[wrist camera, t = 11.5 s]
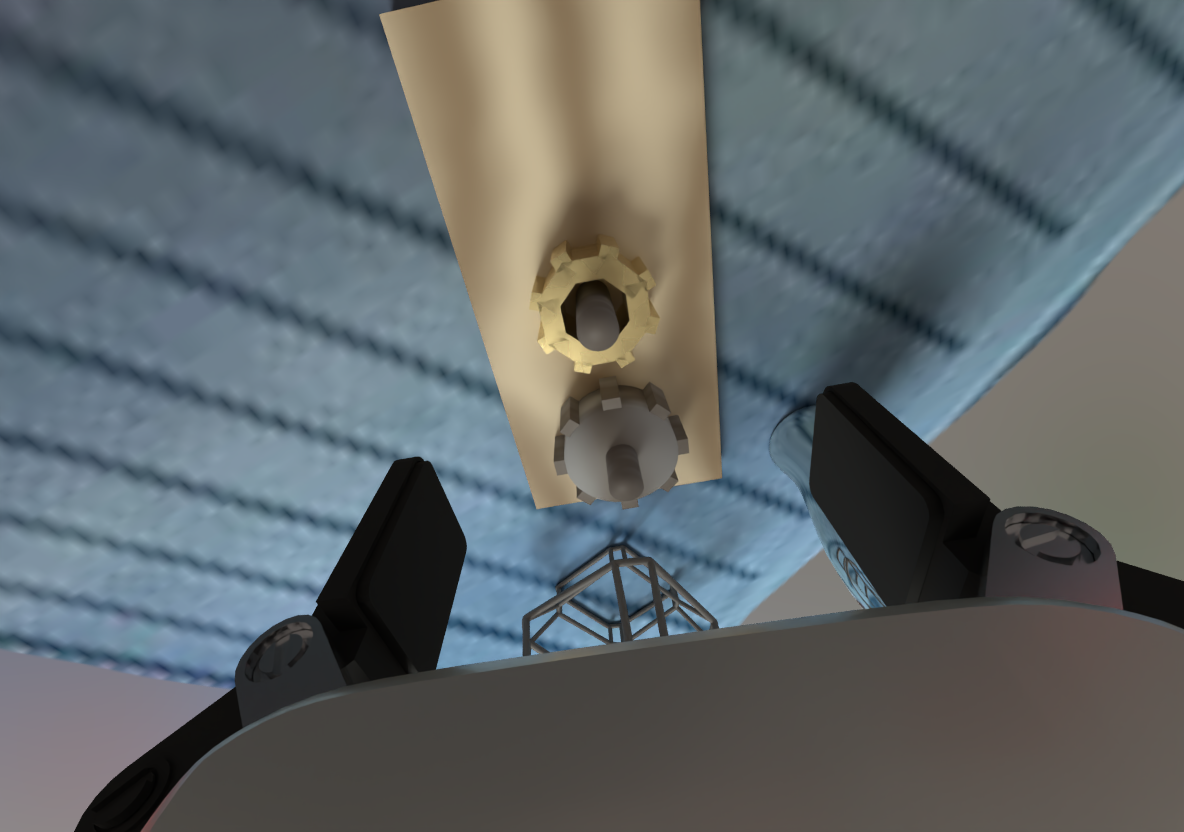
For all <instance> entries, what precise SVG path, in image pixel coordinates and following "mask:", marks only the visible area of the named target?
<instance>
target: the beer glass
mask: <svg viewBox="0 0 1184 832" xmlns="http://www.w3.org/2000/svg"><path fill="white" fill-rule="evenodd" d="M815 410H816V405H811V406H807V407H804V408H801V409H799V410H797V411H795V412H793V413H791V414H790V415H788V416H787V417H786V418H785V419H784V420H782V421H781V422H780V424H779V425H778V426H777V427H776V429H775V430H774V432H773V434H772V436H771V439H770V444H769V451H770V455H771V458H772V460H773V462H774V463H775V465H776V466H777V467H778V468H779V469H780V470H781V471H782V472H783V473H785V474H786V475H787V476H788V477H789V478H790V479H791V480H792V481H793V482H794V483H795V484H796V486H797V487H798V489H799V490H800V492H801V494H802V496H803V499H804V501H805V503H806V506H807V509H808V511H809V514H810V517H811V519H812V522H813V524H814V527H815V529H816V532H817V534H818V537H819V539H820V541H821V543H822V545H823V548H824V550H825V552H826V554H827V556H828V558H829V559H830V561H831V563H832V565H833V566H834V568H835V570H836V571H837V573H838V575H839V576H840V578H841V579H842V581H843V582H844V583H845V585H846V587H847V588H848V590H849V591H850V592H851V594H852V595H853V597H854V598H855V599H856V601H857V602H858V603H859V605H860V606H861V607H862V609H869V608H878V607H886V605H885V604H884V602H883V601H882V599H881V598H880V596H879V595H878V593H877V592H876V591H875V589H874V588H873V586H872V585H871V583H870V582H869V580H868V579H867V577H866V576H865V574H864V573H863V571H862V570H861V568H860V567H859V565H858V564H857V562H856V561H855V559H854V558H853V556H852V555H851V553H850V552H849V550H848V549H847V547H846V546H845V544H844V543H843V541H842V540H841V538H840V537H839V535H838V534H837V532H836V531H835V529H834V528H833V526H832V525H831V523H830V522H829V520H828V519H827V518H826V516H825V515H824V513H823V512H822V510H821V509H820V507H819V506H818V504H817V503H816V501H815V500H814V498H813V496H812V494H811V491H810V487H809V477H810V465H811V454H812V443H813V432H814V421H815Z"/></svg>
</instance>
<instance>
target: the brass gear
mask: <svg viewBox="0 0 1184 832" xmlns="http://www.w3.org/2000/svg"><path fill="white" fill-rule="evenodd" d="M619 249H620V248H619V246H618V245H617V243H616V241H615V239H614V237H611V236H606V235H602V234H598V235H597V239H596V244H590V245H585V246H580V247H575V248H571V246H570V245H569V243H568V242H567V240H565V241H564V242H562V243H561V244H559V245H558V246H557V247H555V248H554V249H553V251H552V256H551V261H550V262H551V264H552V265H553V266H552V268H551V270H550V271H549V273H548V274H547V276H546V278H544V277H540V276H536V278H535V282H534V285H533V289H532V293H531V299H530V306H529V309H530V310H535V311H539V313H540V317H541V322H540V328H539V333H538V339H537V342H538V343H539V345H540V346H541V347H542V349H543V350H544V351H545V353H546V354H548V353H550V352H552V351H553V350H557V351H558V352H560V353H562V354H563V355H565V356H566V357H568V358H570V359H571V360H573V361H574V371H577V372H582V373H587V374H590V372H591V368H592V365H597V364H602V363H608V362H613V361H617V363H618V364H619V366H620V367H621V368H623V367H624V366H626V365H628V364H629V363H631V362H633V361H634V360H635V357H634V354H633V351H632V350H633V349H634V347H635V346H636V345H637V343H638V342H639V341H640V340H641V338H642V337H643V336H644V334H645V333H650V334H656V331H657V327H658V324H659V321H660V317H659V315H658V313H657V312H656V310H655V308H654V306H653V304H652V302H651V301H650V300H649V299H648V290H650V289H651V288H653V287H654V286H656V283H655V281H654V279H653V278H652V276H651V274H650V272H649V271H648V269H647V267H646V266H645V264H644V263H643V261H642V260H641V258H640V257H639V256H638V257H637V258H635V259H633V260H632V261H630V260H628V259H627V258H626V257H624V256H623V255H622V254H620V253H619ZM602 278H604V279H605V280H606V281H608V282H609V283H611V284H612V285H614V286H615V287H616V288H618V289H619V290H621V291H622V298H623V303H622V304H621V306H620V307H619V308H618V310H617V311H616V312H615V314H616V318H617V321H618V325H619V336H618V339H617V341H616V342H615V344H614V345H613V346H612V347H610V348H609V349H607V350H604V351H591V350H589V349H587V348H585V347H584V346H583V345H582V344H581V343H580V341H579V339H578V337H577V325H576V319H575V318H574V317H572V316H571V315H569V314H568V313H566V309H565V304H564V300H565V299H566V297H567V296H568V294H569V293H570V291H571V290H572V288H573V287H574V285H575V284H576V283H581V282H587V281H592V280H597V279H602Z"/></svg>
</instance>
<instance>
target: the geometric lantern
mask: <svg viewBox="0 0 1184 832" xmlns="http://www.w3.org/2000/svg"><path fill="white" fill-rule="evenodd" d="M618 550H621V552H622V557H623V559H618V560H614V556H613V551H618ZM626 552H627V553H628V554H629V555H631V556H632V557H633V558H627V555H626ZM607 554H609V560H610V563H608V564H606V565H605V566H603V567H601V568H600V569H598V570H597V571H595V572H593V573H592V574H590V575H588V576H587V577H585V578H584V579H582V580H580V581H579V582H577V583H575V584H574V585H572V586H571V587H569V588H567V589H566V590H564V591H563V592H561V589H560V588H561V587H563V586H564V585H565V584H567V583H568V582H570V581H571V580H572V579H574V578H575V577H577V576H578V575H579V574H581V573H582V572H583V571H585V570H586V569H588V568H589V567H590V566H592V565H593V564H595V563H596V562H597V561H599V560H600V559H602V558H603V557H604V556H606V555H607ZM633 565H644V566H646V567H647V568H648V569H649V575H650V578H649V577H648V576H647V575H645V574H644V573H642V572H641V571H640V570H638V569H637V568H636V567H634V566H633ZM624 566H627V567H628V568H629V569H631V570H632V571H633V572H635V573H636V574H638V575H639V576H640V577H642V578H643V579H644V580H646V581H647V582H649V583H650V584H651V587H652V593H653V598H654V602H653V603H651V604H649V605H648V606H646V607H645V608H643V609H642V610H640V611H639V612H637V613H636V614H634V615H632V616H631V617H629V616H628V611H627V606H626V600H625V595H624V590H623V585H622V581H621V576H620V571H619V567H624ZM611 570H612V573H613V578H614V583H615V589H616V594H617V599H618V605H619V611H620V617H621V623H617V624H607V623H605V622H604V621H602V620H601V619H599V618H597V617H596V616H594V615H593V614H591V613H590V612H588V611H586V610H585V609H583V608H582V607H580V606H578V605H577V604H575V603H574V602H572V601H570V600H571V599H572V598H573V597H575V596H576V595H577V594H579V593H580V592H581V591H583V590H584V589H585V588H587V587H588V586H590V585H591V584H592V583H594V582H595V581H596V580H598V579H599V578H600V577H602V576H603V575H605V574H606V573H608V572H609V571H611ZM657 575H658V576H659V577H661V578H662V579H663V580H665V581H666V582H667V583H669V584H670V589H671V591H670V592H668V591H667V590H666V589H664V588H663V587H662V586H660V585H659V583H658V578H657ZM555 588H556V591H557V595H556V596H554V597H553V598H551V599H550V600H548V601H546V602H545V603H543V604H541V605H540V606H538V607H537V608H535V609H533V610H532V611H530V612H529V613H527V614H525V615H524V616H523V619H522V629H523V656H530V655H531V649H533V650H534V651H536V652H537V653H539V654H543V653H550V652H549V651H547V650H546V649H544V648H543V647H541V646H540V645H538V644H537V643H535V642H534V641H535V640H536V639H537V638H538V637H539V636H540V635H541V634H542V633H543V632H544V631H545V630H546V629H547V628H548V627H549V626H550V625H551V624H552V623H553V622H554V620H555V619H556V618H557V617H558V616H559V617H561V618H562V619H564V620H566V621H568V622H569V623H571V624H573V625H575V626H576V627H578V628H580V629H581V630H583V631H585V632H587V633H588V634H590V635H592V636H594V637H595V638H597V639H599V640H601V641H602V642H604V643H606V644H613V643H620V642H613V634H612V628H620V637H621V642H627V641H633V640H634V639H635V638H637V637H638V636H639V635H641V634H642V633H644V632H645V631H647V630H648V629H649V628H651V627H652V626H654V625H655V624H656V623H658V628H659V633H660V637H662V636H668V631H667V625H666V620H665V617H666V616H668V615H669V614H671V613H672V612H673V611H675V610H677V611H678V612H679V613H680V614H681V615H682V616H683V617H684V618H685V619H686V620H687V621H688V622H689V623H690V624H691V625H692V626H693V627H694V628H695V629H696V630H697V631H703V630H702V629H701V628H700V627H699V626H698V625H697V624H696V623H695V622H694V621H693V620H692V619H691V618H690V617H689V616H688V615H687V614H686V613H685V612H684V611H683V610H682V609H681V608H680V607H679V604H680V605H681V606H683V607H685V608H686V609H688V610H690V611H692V612H693V613H695V614H697V615H698V616H700V617H702V618H704V619H705V620H707V621H709V622H710V623H711V625H710V629H709V630H712V629H719V626H718V622H717V620H716V619H715V618H714V617H713V616H712V615H711V614H710V613H709V612H708V611H707V610H706V609H705V608H704V607H703V606H702V605H701V604H700V603H699V602H698V601H697V600H696V599H694V598H693V597H692V596H691V595H690V594H689V593H688V592H687V591H686V590H685V589H684V588H683V587H682V586H681V585H680V584H679V583H678V582H677V581H676V580H675V579H673V578H672V577H671V576H670V575H669V574H668V573H667V572H666V571H665V570H664V569H663V568H662V567H661V566H660V565H659V564H658V563H657V562H656V561H655V560H654V559H652V558H651V557H639V556H638V555H637V554H635V553H634V552H633V551H631V550H630V549H629V548H627V547H626V546H624V545H621V546H615V547H609V548H607V550H605V551H604V552H602V553H601V554H600V555H598V556H597V557H596V558H594V559H593V560H591V561H590V562H589V563H587V564H586V565H584V566H583V567H582V568H580V569H579V570H578V571H576V572H575V573H573V574H572V575H571V576H569V577H568V578H566V579H565V580H564V581H562V582H561V583H560V584H558V585H557V586H556V587H555ZM660 591H661V592H662V593H664V594H665V595H663V596H662V597H661V594H660ZM677 592H678V593H679V594H680V595H682V596H683V597H684V598H685V599H686V600H687V601H688V602H689V603H690V604H691V605H692V606H693V607H694V608H693V607H692V606H690V605H688V604H686V603H685V602H683V601H681V600H680V599H679V598H678V594H677ZM668 597H669V598H671V599H672V603H673V607H671V608H670V609H668V610H667V611H666V612H664V609H663V604H662V601H663V600H665V599H667V598H668ZM565 603H567V604H569V605H571V606H572V607H574V608H575V609H577V610H579V611H580V612H582V613H583V614H585V615H587V616H588V617H590V618H591V619H593V620H595V621H596V622H598V623H599V624H601V625H603V626H604V627H606V628H608V632H609V640H608V639H606V638H604V637H602V636H601V635H599V634H597V633H596V632H594V631H592V630H590V629H589V628H587V627H585V626H583V625H582V624H580V623H578V622H577V621H575V620H573V619H571V618H570V617H568V616H566V615H565V614H563V613H562V605H564V604H565ZM654 606H655V610H656V616H657V618H656V619H654V620H653V621H652V622H650V623H649V624H647V625H646V626H645V627H643V628H642V629H640V630H639V631H637V632H636V633H635V634H633V635H632V632H631V627H630V622H631V621H632V620H634V619H635V618H637V617H638V616H640V615H642V614H643V613H645V612H646V611H648V610H649V609H651V608H653V607H654ZM554 609H556V610H557V612H556V613H555V614H554V615H553V616H552V617H551V618H550V619H549V620H548V621H547V622H546V623H545V625H544V626H543V627H542V628H541V629H540V630H539V631H538V632H537V633H536V634H535V635H534V636H533V637H532V638H531V639H530V621H531V620H533V619H535V618H537V617H539V616H541V615H544V614H546V613H548V612H550V611H552V610H554Z"/></svg>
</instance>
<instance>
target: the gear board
mask: <svg viewBox="0 0 1184 832" xmlns="http://www.w3.org/2000/svg"><path fill="white" fill-rule="evenodd" d="M379 15H380V18H381V21H382V24H383V27H384V30H385V34H386V37H387V40H388V43H389V46H390V49H391V52H392V56H393V59H394V62H395V65H396V68H397V71H398V74H399V78H400V81H401V84H402V87H403V90H404V93H405V96H406V100H407V103H408V106H409V109H410V112H411V115H412V118H413V122H414V125H415V128H416V131H417V134H418V137H419V140H420V144H421V147H422V150H423V153H424V156H425V159H426V162H427V166H428V169H429V172H430V175H431V178H432V181H433V184H434V188H435V191H436V194H437V197H438V200H439V203H440V206H441V210H442V213H443V216H444V219H445V222H446V225H447V228H448V232H449V235H450V238H451V241H452V244H453V247H454V250H455V254H456V257H457V260H458V263H459V266H460V269H461V272H462V276H463V279H464V282H465V285H466V288H467V291H468V294H469V298H470V301H471V304H472V307H473V310H474V313H475V316H476V320H477V323H478V326H479V329H480V332H481V335H482V338H483V342H484V345H485V348H486V351H487V354H488V357H489V360H490V364H491V367H492V370H493V373H494V376H495V379H496V382H497V386H498V389H499V392H500V395H501V398H502V401H503V404H504V408H505V411H506V414H507V417H508V420H509V423H510V426H511V430H512V433H513V436H514V439H515V442H516V445H517V448H518V452H519V455H520V458H521V461H522V464H523V467H524V470H525V474H526V477H527V480H528V483H529V486H530V489H531V492H532V496H533V499H534V502H535V505H536V508H537V509H540V508H546V507H552V506H558V505H564V504H570V503H576V502H582V501H583V502H585V503H587V504H589V505H591V504H592V502H593V501H594V500H595V499H601V500H605V501H612V502H621V504H622V509H629V508H635V507H639V506H638V500H637V499H639V498H642V497H644V496H647V495H649V494H651V493H652V492H654V491H656V490H657V489H659V488H661V489H663V490H665V491H667V492H668V491H669V490H670V489H671V488H672V487H673V486H677V485H683V484H689V483H695V482H701V481H707V480H713V479H719V478H722V466H721V444H720V423H719V401H718V380H717V358H716V337H715V316H714V294H713V273H712V251H711V230H710V208H709V187H708V165H707V144H706V122H705V101H704V79H703V58H702V36H701V15H700V0H439V1H434V2H430V3H426V4H422V5H417V6H413V7H409V8H404V9H400V10H396V11H391V12H387V13H383V14H379ZM598 234H602V235H606V236H611V237H614V239H615V241H616V243H617V245H618V246H619V248H620V249H619V253H620V254H622V255H623V256H624V257H626V258H627V259H628V260H630V261H632V260H633V259H635V258H637V257H638V256H639V257H640V258H641V260H642V261H643V263H644V264H645V266H646V267H647V269H648V271H649V272H650V274H651V276H652V278H653V279H654V281H655V283H656V286H654V287H653V288H651V289H650V290H648V299H649V300H650V301H651V302H652V304H653V306H654V308H655V310H656V312H657V313H658V315H659V317H660V321H659V324H658V327H657V331H656V334H650V333H645V334H644V336H643V337H642V338H641V340H640V341H639V342H638V343H637V345H636V346H635V347H634V349H633V350H632V351H633V354H634V357H635V360H634V361H633V362H631V363H629V364H628V365H626V366H624V367H623V368H621V367H620V366H619V364H618V363H617V361H613V362H608V363H602V364H597V365H592V368H591V372H590V374H587V373H582V372H577V371H574V361H573V360H571V359H570V358H568V357H566V356H565V355H563V354H562V353H560V352H558V351H557V350H553V351H552V352H550V353H548V354H546V353H545V351H544V350H543V349H542V347H541V346H540V345H539V343H538V342H537V339H538V333H539V328H540V322H541V317H540V313H539V311H535V310H530V309H529V306H530V299H531V293H532V289H533V285H534V282H535V278H536V276H540V277H544V278H546V276H547V274H548V273H549V271H550V270H551V268H552V266H553V265H552V264H551V262H550V261H551V256H552V251H553V249H554V248H555V247H557V246H558V245H559V244H561V243H562V242H564V241H565V240H567V242H568V243H569V245H570V246H571V248H575V247H580V246H585V245H590V244H596V239H597V235H598ZM622 303H623V298H622V291H621V290H619V289H618V288H616V287H615V286H614V285H612V284H611V283H609V282H608V281H606V280H605V279H604V278H602V279H597V280H592V281H587V282H581V283H576V284H575V285H574V287H573V288H572V290H571V291H570V293H569V294H568V296H567V297H566V299H565V300H564V304H565V309H566V313H568V314H569V315H571V316H572V317H574V318H575V319H576V325H577V337H578V339H579V341H580V343H581V344H582V345H583V346H584V347H585V348H587V349H589V350H591V351H604V350H607V349H609V348H610V347H612V346H613V345H614V344H615V342H616V341H617V339H618V336H619V325H618V321H617V318H616V314H615V312H616V311H617V310H618V308H619V307H620V306H621V304H622Z"/></svg>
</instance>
